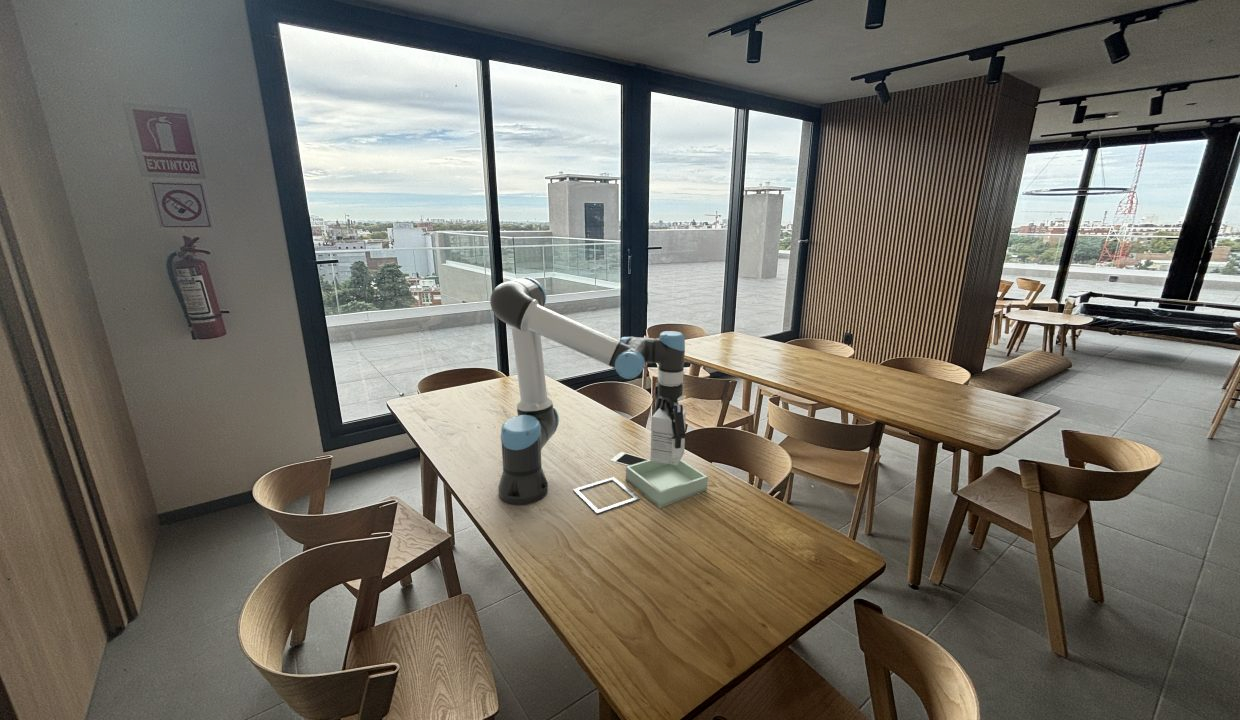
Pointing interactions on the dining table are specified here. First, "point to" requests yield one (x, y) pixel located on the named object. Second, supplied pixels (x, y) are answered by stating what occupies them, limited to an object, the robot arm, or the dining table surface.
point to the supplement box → (664, 438)
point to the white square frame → (633, 499)
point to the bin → (666, 481)
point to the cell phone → (627, 459)
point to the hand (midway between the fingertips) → (667, 447)
